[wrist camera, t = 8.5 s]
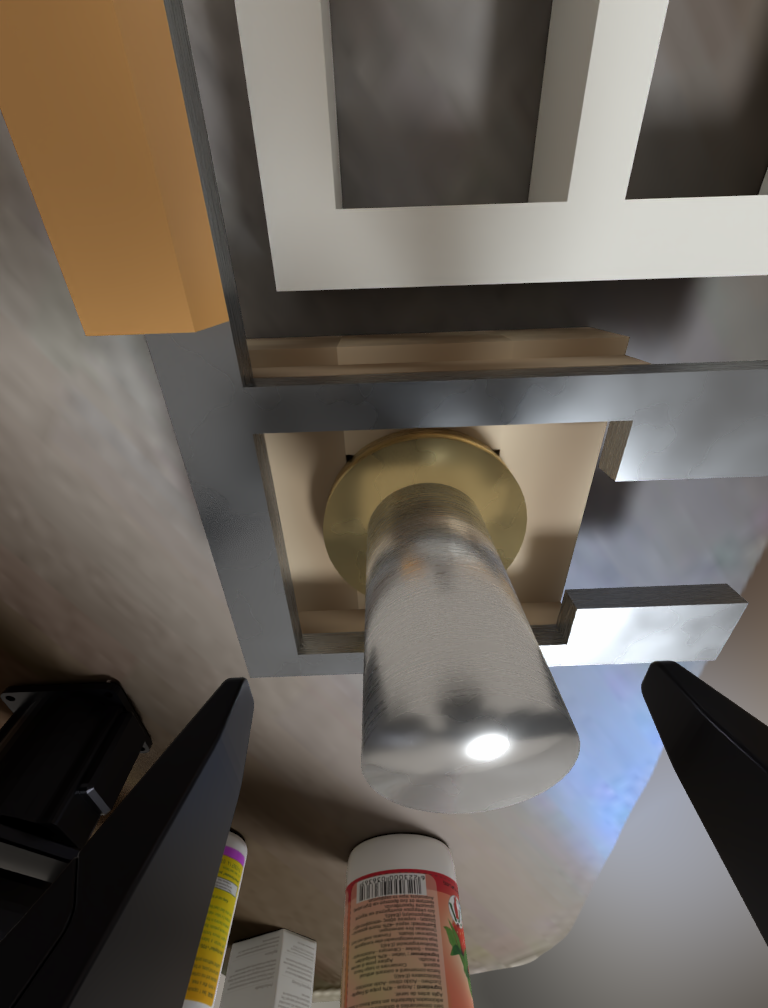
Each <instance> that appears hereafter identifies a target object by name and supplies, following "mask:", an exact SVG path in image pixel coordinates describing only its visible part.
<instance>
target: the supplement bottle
mask: <svg viewBox="0 0 768 1008" xmlns="http://www.w3.org/2000/svg"><path fill="white" fill-rule="evenodd" d="M246 857H247V846H246V844H245V842H244V840H243V839H242V838H241V837H239V836H238V835H236V834H234V833H232V832H230V831H229V834H228V838H227V842H226V846H225V849H224V853H223V857H222V861H221V864H220V868H219V872H218V876H217V879H216V883H215V887H214V891H213V894H212V898H211V902H210V906H209V909H208V913H207V917H206V921H205V924H204V928H203V932H202V936H201V940H200V943H199V947H198V951H197V955H196V958H195V962H194V966H193V970H192V973H191V977H190V981H189V985H188V988H187V992H186V996H185V1000H184V1003H183V1007H182V1008H213V1007H214V1002H215V997H216V993H217V988H218V983H219V979H220V974H221V970H222V965H223V961H224V956H225V952H226V947H227V943H228V938H229V934H230V929H231V925H232V920H233V916H234V911H235V907H236V903H237V898H238V894H239V889H240V885H241V880H242V876H243V871H244V866H245V862H246Z"/></svg>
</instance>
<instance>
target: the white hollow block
mask: <svg viewBox="0 0 768 1008" xmlns="http://www.w3.org/2000/svg"><path fill="white" fill-rule="evenodd" d="M234 1H235V8H236V15H237V22H238V29H239V36H240V43H241V49H242V56H243V63H244V70H245V77H246V84H247V91H248V98H249V104H250V111H251V118H252V125H253V132H254V139H255V146H256V152H257V159H258V166H259V173H260V180H261V187H262V194H263V200H264V207H265V214H266V221H267V228H268V235H269V242H270V249H271V255H272V262H273V269H274V276H275V283H276V290H277V291H306V290H335V289H365V288H394V287H424V286H453V285H482V284H512V283H541V282H571V281H600V280H630V279H659V278H689V277H718V276H747V275H768V169H767V171H766V174H765V177H764V180H763V183H762V186H761V188H760V191H759V194H758V195H751V196H721V197H691V198H661V199H631V200H625V197H626V192H627V188H628V183H629V179H630V174H631V170H632V165H633V161H634V156H635V152H636V147H637V143H638V138H639V134H640V129H641V124H642V120H643V115H644V111H645V106H646V102H647V97H648V93H649V88H650V84H651V79H652V75H653V70H654V66H655V61H656V57H657V52H658V47H659V43H660V38H661V34H662V29H663V25H664V20H665V16H666V11H667V7H668V2H669V0H553V2H552V10H551V18H550V27H549V35H548V43H547V51H546V59H545V67H544V75H543V84H542V92H541V100H540V108H539V116H538V124H537V132H536V141H535V149H534V157H533V165H532V173H531V181H530V189H529V198H528V203H510V204H480V205H450V206H419V207H389V208H359V209H343V203H342V188H341V173H340V157H339V142H338V127H337V112H336V96H335V81H334V66H333V51H332V36H331V20H330V5H329V0H234Z"/></svg>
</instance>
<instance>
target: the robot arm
mask: <svg viewBox="0 0 768 1008" xmlns="http://www.w3.org/2000/svg"><path fill="white" fill-rule="evenodd" d="M641 690H642V694H643V697H644V699H645V702H646V704H647V707H648V709H649V711H650V714H651V716H652V719H653V721H654V723H655V726H656V728H657V730H658V733H659V735H660V738H661V740H662V742H663V745H664V747H665V750H666V752H667V754H668V756H669V759H670V761H671V763H672V765H673V768H674V770H675V772H676V773H677V776H678V777H679V779H680V781H681V783H682V785H683V787H684V789H685V791H686V793H687V794H688V797H689V798H690V800H691V802H692V804H693V806H694V808H695V810H696V812H697V814H698V815H699V817H700V819H701V821H702V823H703V825H704V827H705V829H706V831H707V832H708V834H709V836H710V838H711V840H712V842H713V844H714V846H715V847H716V849H717V851H718V853H719V855H720V857H721V859H722V861H723V863H724V864H725V867H726V868H727V870H728V872H729V874H730V876H731V878H732V880H733V882H734V884H735V885H736V887H737V889H738V891H739V893H740V895H741V897H742V898H743V901H744V902H745V904H746V906H747V908H748V910H749V912H750V914H751V916H752V918H753V919H754V921H755V923H756V925H757V927H758V929H759V931H760V933H761V935H762V936H763V938H764V940H765V942H766V944H767V946H768V726H767V725H765V724H764V723H762V722H761V721H759V720H758V719H757V718H755V717H754V716H752V715H751V714H749V713H748V712H746V711H745V710H744V709H742V708H741V707H739V706H738V705H737V704H735V703H734V702H732V701H731V700H729V699H728V698H727V697H725V696H723V695H722V694H721V693H719V692H718V691H716V690H715V689H713V688H712V687H711V686H709V685H708V684H706V683H705V682H704V681H702V680H701V679H699V678H698V677H696V676H695V675H694V674H692V673H691V672H689V671H688V670H686V669H685V668H684V667H682V666H681V665H679V664H678V663H676V662H674V661H669V660H665V661H654V662H652V663H651V664H650V666H649V668H648V671H647V673H646V675H645V677H644V679H643V681H642V684H641ZM0 697H1V699H2V700H3V701H4V702H5V704H6V705H7V706H8V707H9V708H10V710H11V711H12V712H13V715H12V716H11V717H10V718H9V720H8V721H7V722H6V723H5V724H4V726H3V727H2V728H1V729H0V1008H182V1007H183V1003H184V1000H185V996H186V992H187V988H188V985H189V981H190V977H191V973H192V970H193V966H194V962H195V958H196V955H197V951H198V947H199V943H200V940H201V936H202V932H203V928H204V924H205V921H206V917H207V913H208V909H209V906H210V902H211V898H212V894H213V891H214V887H215V883H216V879H217V876H218V872H219V868H220V864H221V861H222V857H223V853H224V849H225V846H226V842H227V838H228V834H229V831H230V827H231V823H232V819H233V816H234V812H235V808H236V804H237V801H238V797H239V792H240V788H241V783H242V778H243V772H244V766H245V760H246V754H247V748H248V742H249V736H250V729H251V723H252V717H253V711H254V700H253V697H252V693H251V690H250V687H249V684H248V681H247V679H246V678H244V677H240V678H228V679H227V680H225V681H224V682H223V683H222V684H221V686H220V687H219V688H218V689H217V690H216V691H215V693H214V694H213V695H212V696H211V697H210V698H209V700H208V701H207V702H206V703H205V704H204V706H203V707H202V708H201V709H200V710H199V711H198V713H197V714H196V715H195V716H194V717H193V718H192V720H191V721H190V722H189V723H188V724H187V726H186V727H185V728H184V729H183V730H182V731H181V733H180V734H179V735H178V736H177V737H176V738H175V740H174V741H173V742H172V743H171V744H170V746H169V747H168V748H167V749H166V750H165V751H164V753H163V754H162V755H161V756H160V757H159V758H158V760H157V761H156V762H155V763H154V764H153V766H152V767H151V768H150V769H149V770H148V771H147V773H146V774H145V775H144V776H143V777H142V778H141V780H140V781H139V782H138V783H137V784H136V786H135V787H134V788H133V789H132V790H131V791H130V793H129V794H128V795H127V796H126V797H125V798H124V800H123V801H122V802H121V803H120V804H119V806H118V807H117V808H116V809H115V810H114V811H113V813H112V814H111V815H110V816H109V817H108V818H107V820H106V821H105V822H104V823H103V824H102V826H101V827H100V828H99V829H98V830H97V831H96V833H95V834H94V835H93V836H92V837H91V838H90V836H91V834H92V832H93V830H94V828H95V826H96V824H97V822H98V820H99V818H100V816H101V815H106V814H108V813H109V812H110V811H111V810H112V808H113V806H114V804H115V802H116V800H117V798H118V796H119V794H120V792H121V790H122V788H123V785H124V783H125V781H126V779H127V777H128V775H129V773H130V771H131V769H132V767H133V765H134V763H135V761H136V759H137V757H138V755H139V753H147V752H149V750H150V748H151V746H152V741H151V739H150V737H149V736H148V734H147V732H146V730H145V729H144V727H143V725H142V724H141V722H140V720H139V718H138V717H137V715H136V713H135V711H134V710H133V708H132V706H131V704H130V703H129V701H128V699H127V697H126V696H125V694H124V692H123V690H122V689H121V687H120V686H119V685H117V684H114V683H90V684H63V685H37V686H11V687H8V688H6V690H5V691H4V692H3V693H2V694H1V696H0ZM89 838H90V840H89ZM88 840H89V841H88Z"/></svg>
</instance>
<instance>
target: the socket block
mask: <svg viewBox="0 0 768 1008" xmlns="http://www.w3.org/2000/svg"><path fill="white" fill-rule="evenodd" d="M629 338H630V337H627V336H623V335H619V334H615V333H611V332H607V331H604V330H600V329H596V328H592V327H576V328H547V329H518V330H489V331H460V332H431V333H402V334H373V335H344V336H315V337H286V338H257V339H246V341H247V346H248V352H249V357H250V362H251V367H252V373H253V378H276V377H304V376H333V375H362V374H390V373H419V372H448V371H476V370H505V369H534V368H563V367H591V366H620V365H649V364H651V363H648V362H645V361H642V360H639V359H636V358H633V357H629V356H626V355H625V353H626V349H627V345H628V342H629ZM607 422H608V421H604V422H575V423H547V424H519V425H491V426H462V427H436V428H444V429H451V430H455V431H458V432H461V433H465V434H467V435H469V436H471V437H474V438H476V439H478V440H479V441H481V442H482V443H484V444H486V445H487V446H488V447H490V448H491V449H492V450H493V451H494V452H495V453H496V454H497V455H498V456H499V457H500V458H501V459H502V460H503V462H504V463H505V464H506V466H507V467H508V469H509V470H510V472H511V473H512V474H513V476H514V478H515V479H516V481H517V482H518V484H519V486H520V488H521V491H522V493H523V495H524V499H525V503H526V508H527V526H526V533H525V537H524V540H523V543H522V546H521V548H520V550H519V552H518V554H517V556H516V557H515V559H514V561H513V562H512V564H511V565H510V566H509V567H508V569H507V570H506V572H507V575H508V577H509V579H510V581H511V584H512V586H513V588H514V590H515V593H516V595H517V597H518V600H519V602H520V604H521V606H522V609H523V611H524V613H525V615H526V618H527V620H528V622H529V624H530V625H549V624H557V620H558V616H559V612H560V609H561V605H562V604H561V602H560V601H561V597H562V593H563V590H564V586H565V582H566V578H567V574H568V570H569V567H570V563H571V559H572V555H573V551H574V548H575V544H576V540H577V536H578V532H579V529H580V525H581V521H582V517H583V513H584V509H585V506H586V502H587V498H588V494H589V490H590V487H591V483H592V479H593V475H594V471H595V467H596V464H597V460H598V456H599V452H600V448H601V445H602V441H603V437H604V433H605V429H606V426H607ZM406 429H410V428H406ZM406 429H378V430H349V431H321V432H293V433H265V434H264V436H265V441H266V446H267V452H268V457H269V462H270V467H271V473H272V478H273V483H274V488H275V494H276V499H277V504H278V510H279V515H280V520H281V525H282V531H283V536H284V541H285V546H286V552H287V557H288V562H289V567H290V573H291V578H292V583H293V588H294V594H295V599H296V604H297V610H298V615H299V620H300V625H301V631H302V634H308V633H335V632H362V631H365V596H366V595H364V594H362V593H361V592H359V591H357V590H356V589H355V588H353V587H352V586H351V585H349V584H348V583H347V582H346V581H345V580H344V579H343V578H342V577H341V575H340V574H339V573H338V571H337V570H336V569H335V567H334V566H333V564H332V562H331V560H330V558H329V556H328V553H327V550H326V547H325V542H324V536H323V523H324V515H325V510H326V505H327V500H328V496H329V493H330V489H331V487H332V485H333V483H334V480H335V478H336V477H337V475H338V474H339V472H340V470H341V469H342V468H343V466H344V465H345V464H346V463H347V462H348V460H349V459H350V458H351V457H352V455H355V454H356V453H357V452H358V451H359V450H361V449H362V448H364V447H365V446H366V445H368V444H369V443H371V442H373V441H375V440H377V439H379V438H381V437H383V436H385V435H388V434H391V433H394V432H397V431H401V430H406Z"/></svg>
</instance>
